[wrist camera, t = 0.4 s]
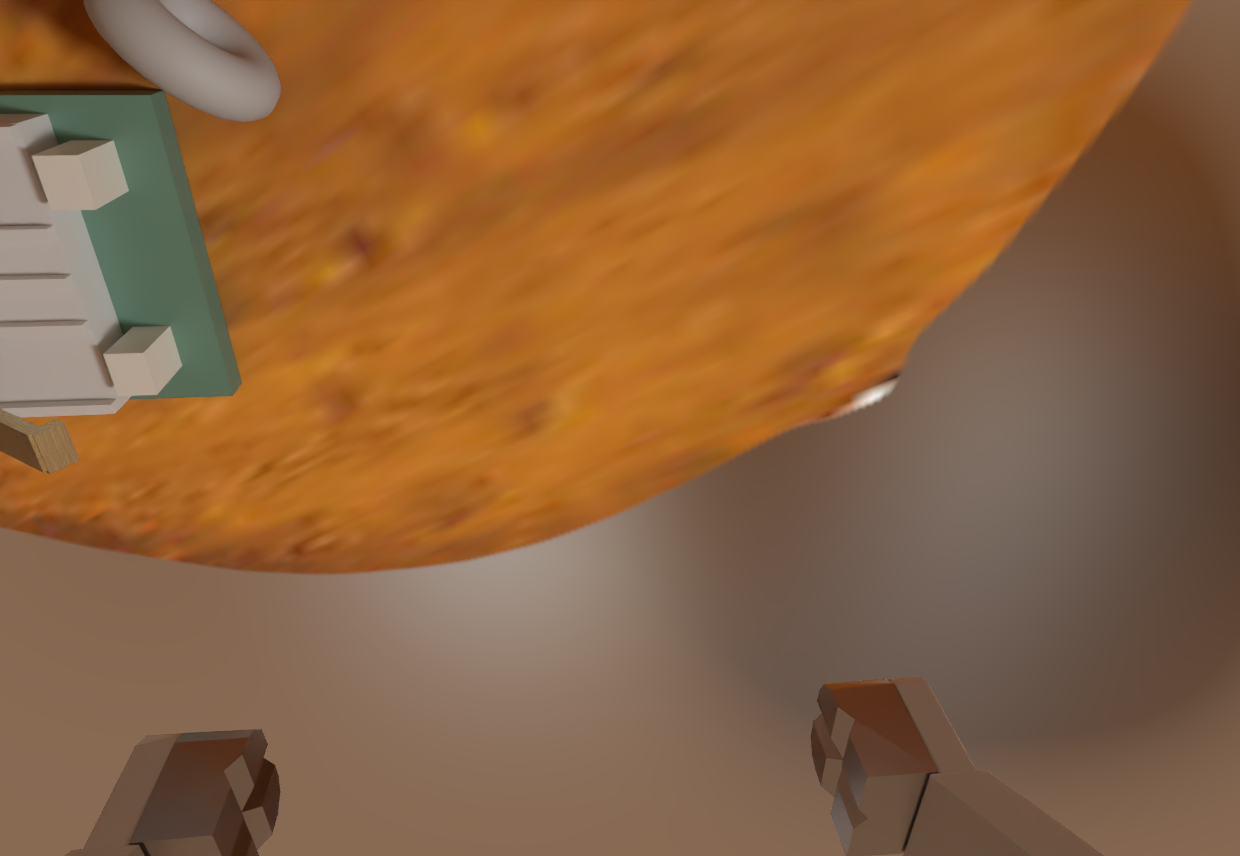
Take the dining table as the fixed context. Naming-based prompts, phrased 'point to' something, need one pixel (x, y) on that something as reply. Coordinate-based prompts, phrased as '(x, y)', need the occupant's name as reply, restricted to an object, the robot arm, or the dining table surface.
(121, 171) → the board
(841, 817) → the robot arm
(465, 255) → the dining table surface
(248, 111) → the donut
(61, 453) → the strap brass
